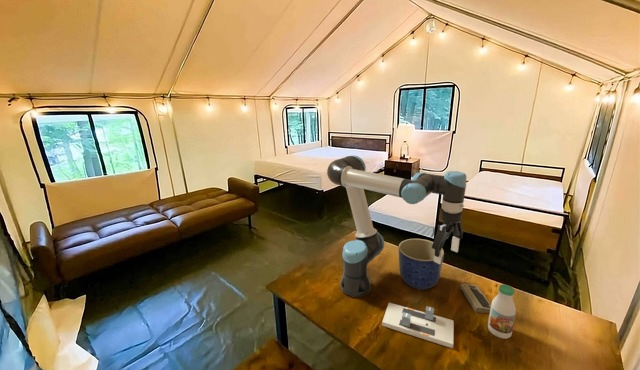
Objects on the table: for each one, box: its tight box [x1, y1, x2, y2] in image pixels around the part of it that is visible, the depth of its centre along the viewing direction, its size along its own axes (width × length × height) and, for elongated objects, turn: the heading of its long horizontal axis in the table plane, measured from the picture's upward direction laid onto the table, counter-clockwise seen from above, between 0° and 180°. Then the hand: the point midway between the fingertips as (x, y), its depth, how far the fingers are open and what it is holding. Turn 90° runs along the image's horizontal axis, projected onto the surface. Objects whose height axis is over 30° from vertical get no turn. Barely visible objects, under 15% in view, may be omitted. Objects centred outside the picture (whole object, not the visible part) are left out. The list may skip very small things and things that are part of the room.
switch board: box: [381, 302, 455, 349], centre depth 106 cm, size 26×12×2 cm, turn 63°
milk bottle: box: [487, 284, 517, 340], centre depth 99 cm, size 8×8×20 cm
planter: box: [397, 238, 445, 290], centre depth 129 cm, size 21×21×19 cm
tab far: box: [425, 305, 435, 320], centre depth 106 cm, size 3×2×4 cm
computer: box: [459, 283, 492, 314], centre depth 118 cm, size 16×8×3 cm, turn 175°
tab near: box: [402, 312, 411, 327], centre depth 104 cm, size 3×2×4 cm
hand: (446, 256), depth 110 cm, fingers open, 13 cm apart
